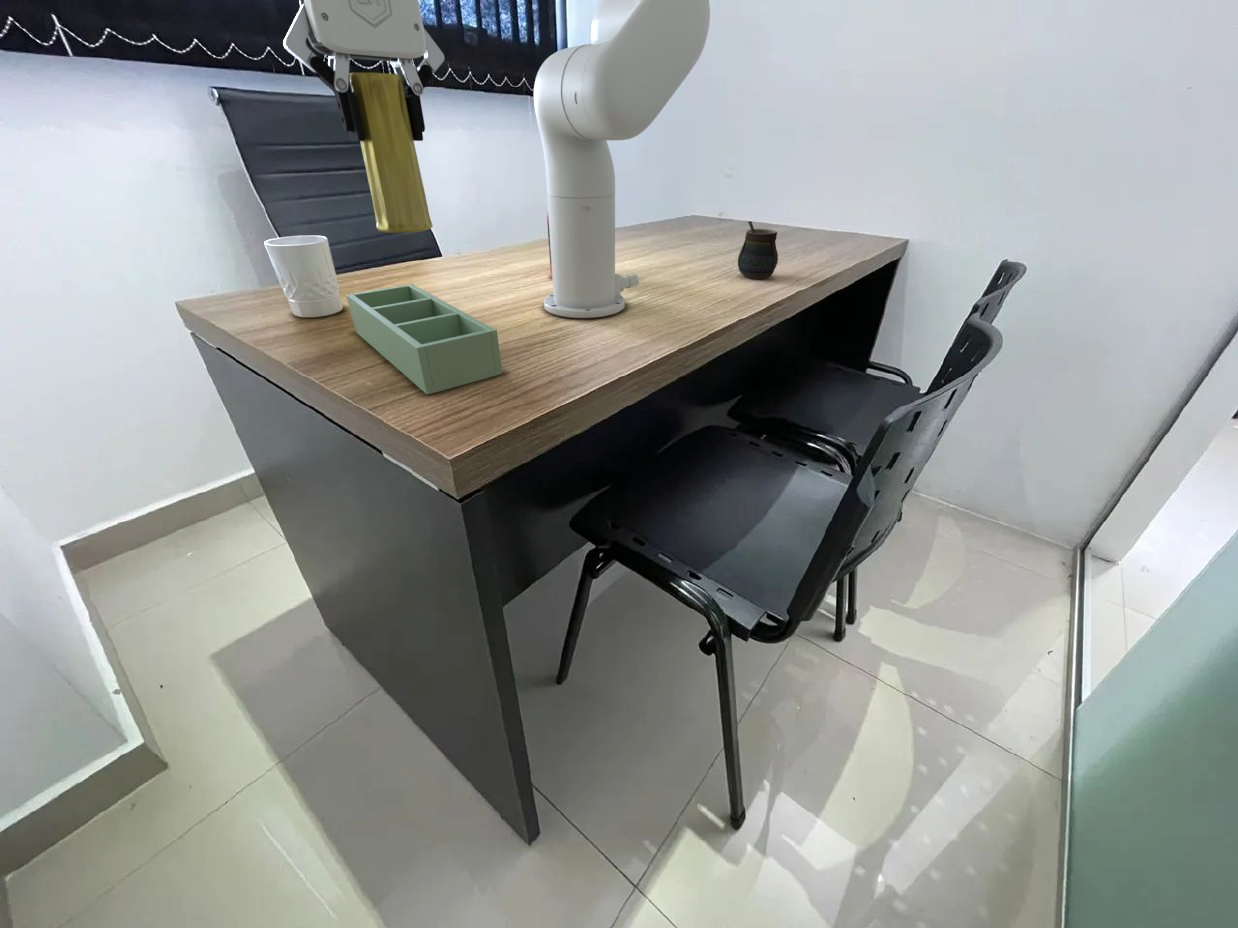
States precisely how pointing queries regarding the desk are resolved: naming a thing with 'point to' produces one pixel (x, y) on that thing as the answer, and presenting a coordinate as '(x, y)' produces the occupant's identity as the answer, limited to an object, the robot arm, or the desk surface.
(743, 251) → the mate gourd
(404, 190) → the vase
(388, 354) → the compartment tray
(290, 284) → the white cup
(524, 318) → the desk surface
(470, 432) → the desk surface
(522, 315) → the desk surface
